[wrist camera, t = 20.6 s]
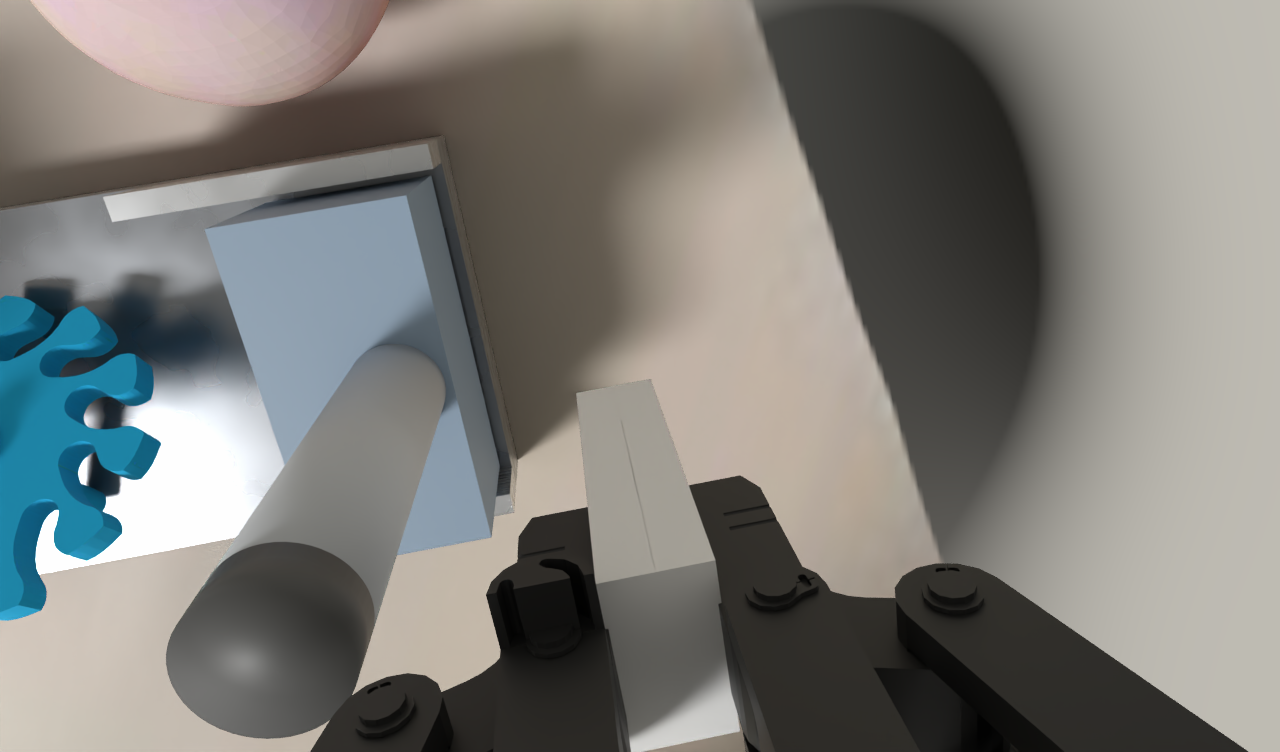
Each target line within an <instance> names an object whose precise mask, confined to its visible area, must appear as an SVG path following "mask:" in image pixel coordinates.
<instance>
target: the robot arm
mask: <svg viewBox="0 0 1280 752" xmlns="http://www.w3.org/2000/svg"><path fill="white" fill-rule="evenodd" d="M576 396H577V406H578V416H579V426H580V436H581V446H582V456H583V465H584V475H585V485H586V495H587V505H588V507H586V508H581V509H576V510H571V511H566V512H560V513H555V514H550V515H545V516H540V517H534V518H532V519H531V520H530V522H529V523H528V524H527V526H526V527H525V529H524V530H523V531H522V533H521V534H520V536H519V541H518V559H517V563H515V564H513V565H512V566H510V567H508V568H506V569H505V570H503V571H502V572H501V573H500V574H499V575H498V576H497V577H496V578H495V579H494V580H493V581H492V582H491V584H490V586H489V589H488V591H487V594H486V596H487V600H488V604H489V608H490V611H491V615H492V619H493V623H494V627H495V630H496V634H497V638H498V642H499V645H500V649H501V652H500V658H499V660H498V661H497V662H496V663H495V664H493V665H492V666H491V667H489V668H488V669H487V670H485V671H484V672H483V673H481V674H479V675H478V676H476V677H474V678H472V679H470V680H468V681H466V682H464V683H462V684H459V685H457V686H455V687H452V688H450V689H448V690H446V691H443V692H441V690H440V688H439V685H438V683H436V682H435V681H433V680H432V679H430V678H428V677H427V676H425V675H417V674H409V673H407V674H401V675H396V676H390V677H386V678H383V679H381V680H379V681H376V682H374V683H372V684H369V685H367V686H365V687H364V688H362V689H361V690H359V691H358V692H357V693H355V694H354V695H352V696H351V697H349V698H348V699H347V700H346V701H345V702H344V703H343V704H342V706H341V707H340V708H339V709H338V710H337V711H336V713H335V714H334V715H333V716H332V718H331V720H330V721H329V723H328V724H327V726H326V728H325V729H324V731H323V732H322V734H321V736H320V737H319V739H318V740H317V742H316V744H315V745H314V747H313V748H312V750H311V752H644V751H648V750H653V749H658V748H663V747H668V746H672V745H677V744H682V743H687V742H692V741H696V740H701V739H706V738H711V737H715V736H720V735H725V734H730V733H735V732H739V731H740V727H739V720H740V723H741V726H742V730H743V735H744V742H745V749H746V752H1248V751H1247V750H1245V749H1244V748H1242V747H1241V746H1239V745H1238V744H1237V743H1235V742H1234V741H1232V740H1231V739H1229V738H1228V737H1226V736H1225V735H1224V734H1222V733H1221V732H1219V731H1218V730H1216V729H1215V728H1213V727H1212V726H1210V725H1209V724H1208V723H1206V722H1205V721H1203V720H1202V719H1200V718H1199V717H1198V716H1196V715H1195V714H1193V713H1192V712H1190V711H1189V710H1187V709H1186V708H1185V707H1183V706H1182V705H1180V704H1179V703H1177V702H1176V701H1175V700H1173V699H1171V698H1170V697H1169V696H1167V695H1166V694H1164V693H1163V692H1162V691H1160V690H1159V689H1157V688H1156V687H1154V686H1153V685H1151V684H1150V683H1149V682H1147V681H1146V680H1144V679H1143V678H1141V677H1140V676H1138V675H1137V674H1136V673H1134V672H1133V671H1131V670H1130V669H1128V668H1127V667H1125V666H1124V665H1123V664H1121V663H1120V662H1118V661H1117V660H1115V659H1114V658H1112V657H1111V656H1110V655H1108V654H1107V653H1105V652H1104V651H1102V650H1101V649H1099V648H1098V647H1097V646H1095V645H1094V644H1092V643H1091V642H1089V641H1088V640H1086V639H1085V638H1084V637H1082V636H1081V635H1079V634H1078V633H1076V632H1075V631H1073V630H1072V629H1070V628H1069V627H1068V626H1066V625H1065V624H1063V623H1062V622H1060V621H1059V620H1058V619H1056V618H1055V617H1053V616H1052V615H1050V614H1049V613H1047V612H1046V611H1044V610H1043V609H1042V608H1040V607H1039V606H1037V605H1036V604H1034V603H1033V602H1032V601H1030V600H1029V599H1027V598H1026V597H1024V596H1023V595H1021V594H1020V593H1019V592H1017V591H1016V590H1014V589H1013V588H1011V587H1010V586H1008V585H1007V584H1005V583H1004V582H1003V581H1001V580H1000V579H998V578H997V577H995V576H993V575H991V574H989V573H987V572H984V571H983V570H981V569H978V568H974V567H970V566H965V565H961V564H932V565H928V566H923V567H919V568H916V569H914V570H912V571H911V572H909V573H907V574H906V575H904V576H902V578H901V579H900V581H899V582H898V584H897V586H896V587H895V597H896V598H864V597H853V596H846V595H842V594H838V593H834V592H832V591H830V589H829V587H828V585H827V584H826V583H825V581H824V580H823V579H822V578H821V577H820V576H819V575H818V574H817V573H815V572H813V571H811V570H808V569H806V568H804V567H802V565H801V563H800V562H799V560H798V558H797V556H796V554H795V552H794V550H793V548H792V547H791V545H790V543H789V541H788V539H787V537H786V535H785V533H784V532H783V530H782V528H781V526H780V524H779V522H778V521H777V520H776V517H775V515H774V513H773V511H772V509H771V507H769V503H768V502H767V500H766V498H765V496H764V494H763V492H762V490H761V488H760V487H758V486H757V485H755V484H753V483H752V482H750V481H748V480H747V479H745V478H744V477H742V476H735V477H730V478H725V479H720V480H714V481H709V482H704V483H699V484H694V485H688V482H687V479H686V477H685V474H684V471H683V468H682V465H681V463H680V460H679V457H678V454H677V451H676V449H675V446H674V443H673V440H672V437H671V435H670V432H669V429H668V426H667V424H666V421H665V418H664V415H663V412H662V410H661V407H660V404H659V401H658V398H657V396H656V393H655V390H654V387H653V384H652V382H651V379H648V380H643V381H637V382H632V383H627V384H621V385H616V386H610V387H605V388H600V389H594V390H589V391H584V392H578V393H576ZM738 716H739V720H738Z"/></svg>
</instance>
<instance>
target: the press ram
mask: <svg viewBox="0 0 1280 752" xmlns="http://www.w3.org/2000/svg"><path fill="white" fill-rule="evenodd" d="M205 232H206V235H207V238H208V241H209V244H210V247H211V250H212V253H213V256H214V259H215V262H216V265H217V268H218V270H219V273H220V276H221V279H222V282H223V285H224V288H225V291H226V294H227V297H228V300H229V303H230V306H231V309H232V312H233V315H234V318H235V320H236V323H237V326H238V329H239V332H240V335H241V338H242V341H243V344H244V347H245V350H246V353H247V356H248V359H249V362H250V365H251V367H252V370H253V373H254V376H255V379H256V382H257V385H258V388H259V391H260V394H261V397H262V400H263V403H264V406H265V409H266V412H267V414H268V417H269V420H270V423H271V426H272V429H273V432H274V435H275V438H276V441H277V444H278V447H279V450H280V453H281V456H282V459H283V462H284V464H285V466H284V468H283V469H282V471H281V472H280V474H279V475H278V476H277V478H276V479H275V481H274V482H273V484H272V485H271V487H270V488H269V490H268V491H267V493H266V494H265V496H264V497H263V499H262V500H261V502H260V503H259V504H258V506H257V507H256V509H255V510H254V512H253V513H252V515H251V516H250V518H249V519H248V521H247V522H246V524H245V525H244V527H243V528H242V529H241V531H240V532H239V534H238V535H237V537H236V538H235V540H234V541H233V543H232V544H231V546H230V547H229V549H228V550H227V552H226V553H225V554H224V556H223V557H222V559H221V560H220V562H219V563H218V565H217V566H216V568H215V569H214V571H213V572H212V574H211V575H210V577H209V578H208V579H207V581H206V582H205V584H204V585H203V587H202V588H201V590H200V591H199V593H198V594H197V596H196V597H195V599H194V600H193V602H192V603H191V605H190V606H189V607H188V609H187V610H186V612H185V613H184V615H183V616H182V618H181V619H180V621H179V622H178V624H177V625H176V627H175V629H174V630H173V632H172V634H171V637H170V640H169V643H168V647H167V653H166V665H167V671H168V675H169V678H170V681H171V684H172V686H173V688H174V689H175V691H176V693H177V695H178V696H179V697H180V699H181V700H182V701H183V703H184V704H185V705H186V706H187V707H188V708H189V709H190V710H191V711H192V712H194V713H195V714H196V715H197V716H199V717H200V718H201V719H203V720H205V721H206V722H208V723H209V724H211V725H213V726H215V727H217V728H219V729H222V730H225V731H227V732H230V733H233V734H237V735H241V736H246V737H253V738H266V739H269V738H283V737H290V736H295V735H298V734H302V733H305V732H308V731H310V730H313V729H315V728H317V727H319V726H321V725H323V724H324V723H326V722H327V721H329V720H330V719H331V718H332V716H333V715H334V714H335V713H336V711H337V710H338V709H339V708H340V707H341V706H342V704H343V703H344V702H345V701H346V700H347V699H348V698H349V697H351V696H352V694H353V691H354V689H355V687H356V683H357V680H358V677H359V674H360V671H361V668H362V664H363V661H364V658H365V655H366V652H367V648H368V645H369V642H370V639H371V636H372V632H373V629H374V626H375V623H376V620H377V616H378V613H379V610H380V607H381V604H382V600H383V597H384V594H385V591H386V588H387V585H388V581H389V578H390V575H391V572H392V569H393V565H394V562H395V559H396V556H397V555H401V554H406V553H412V552H417V551H422V550H427V549H433V548H438V547H443V546H448V545H454V544H459V543H464V542H469V541H475V540H480V539H485V538H490V537H491V536H492V528H493V519H494V511H495V502H496V494H497V485H498V476H499V468H500V464H499V460H498V456H497V452H496V448H495V443H494V439H493V435H492V431H491V426H490V422H489V418H488V414H487V410H486V405H485V401H484V397H483V393H482V388H481V384H480V380H479V376H478V371H477V367H476V363H475V359H474V355H473V350H472V346H471V342H470V338H469V333H468V329H467V325H466V321H465V317H464V312H463V308H462V304H461V300H460V295H459V291H458V287H457V283H456V278H455V274H454V270H453V266H452V262H451V257H450V253H449V249H448V245H447V240H446V236H445V232H444V228H443V224H442V219H441V215H440V211H439V207H438V202H437V198H436V194H435V190H434V185H433V181H432V177H431V175H430V176H424V177H418V178H412V179H406V180H400V181H394V182H388V183H382V184H376V185H370V186H364V187H358V188H352V189H346V190H340V191H334V192H328V193H322V194H316V195H310V196H304V197H298V198H291V199H285V200H279V201H273V202H267V203H264V204H262V205H260V206H257V207H255V208H253V209H250V210H248V211H246V212H243V213H241V214H239V215H236V216H234V217H232V218H229V219H227V220H225V221H222V222H220V223H218V224H215V225H213V226H211V227H208V228H206V229H205Z"/></svg>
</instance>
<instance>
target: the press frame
mask: <svg viewBox="0 0 1280 752" xmlns="http://www.w3.org/2000/svg"><path fill="white" fill-rule="evenodd" d="M430 175H431V177H432V181H433V185H434V190H435V194H436V198H437V202H438V207H439V211H440V215H441V219H442V224H443V228H444V232H445V236H446V240H447V245H448V249H449V253H450V257H451V262H452V266H453V270H454V274H455V278H456V283H457V287H458V291H459V295H460V300H461V304H462V308H463V312H464V317H465V321H466V325H467V329H468V333H469V338H470V342H471V346H472V350H473V355H474V359H475V363H476V367H477V371H478V376H479V380H480V384H481V388H482V393H483V397H484V401H485V405H486V410H487V414H488V418H489V422H490V426H491V431H492V435H493V439H494V443H495V448H496V452H497V456H498V460H499V464H500V468H499V476H498V485H497V494H496V502H495V511H494V516H499V515H504V514H509V513H514V506H515V492H516V478H517V464H518V460H517V455H516V451H515V447H514V442H513V438H512V433H511V429H510V425H509V420H508V416H507V411H506V407H505V403H504V398H503V394H502V389H501V385H500V381H499V376H498V372H497V367H496V363H495V359H494V354H493V350H492V345H491V341H490V337H489V332H488V328H487V323H486V319H485V315H484V310H483V306H482V301H481V297H480V293H479V288H478V284H477V279H476V275H475V271H474V266H473V262H472V257H471V253H470V249H469V244H468V240H467V235H466V231H465V227H464V222H463V218H462V213H461V209H460V205H459V200H458V196H457V191H456V187H455V183H454V178H453V174H452V169H451V165H450V161H449V156H448V152H447V147H446V143H445V139H444V135H442V136H436V137H430V138H424V139H418V140H412V141H406V142H400V143H393V144H387V145H381V146H375V147H369V148H363V149H357V150H351V151H345V152H339V153H333V154H326V155H320V156H314V157H308V158H302V159H296V160H290V161H284V162H278V163H272V164H265V165H259V166H253V167H247V168H241V169H235V170H229V171H223V172H217V173H211V174H205V175H198V176H192V177H186V178H180V179H174V180H168V181H162V182H156V183H150V184H144V185H138V186H131V187H125V188H119V189H113V190H107V191H101V192H95V193H89V194H83V195H77V196H71V197H64V198H58V199H52V200H46V201H40V202H34V203H28V204H22V205H16V206H10V207H3V208H0V299H1V298H2V297H4V296H5V295H6V296H17V297H22V298H25V299H28V300H31V301H32V302H34V303H35V304H36V305H38V306H39V307H41V308H42V309H44V310H45V311H47V312H48V313H50V314H51V315H53V316H54V317H55V318H54V322H53V325H52V327H51V328H50V330H49V331H48V332H47V333H46V334H45V335H43V336H42V337H40V338H39V339H37V340H35V341H33V342H30V343H28V344H26V345H25V346H23V347H21V348H20V349H19V350H18V351H17V352H16V354H15V356H14V358H16V357H18V356H20V355H22V354H24V353H26V352H28V351H30V350H32V349H33V348H35V347H36V346H38V345H39V344H41V343H42V342H43V341H45V340H46V339H47V338H48V337H49V336H50V335H51V334H52V333H53V332H54V331H55V329H56V328H57V327H58V326H59V324H60V323H61V321H62V320H63V318H64V317H65V316H66V315H67V314H68V313H69V312H71V311H72V310H74V309H76V308H78V307H81V306H85V307H86V308H87V309H89V310H90V311H91V312H93V313H94V314H95V315H97V316H98V317H100V318H101V319H102V320H103V321H105V322H106V323H107V324H108V325H109V326H110V327H111V328H112V329H113V330H114V332H115V334H116V336H117V339H118V343H117V344H116V346H115V347H114V348H113V349H112V350H110V351H109V352H108V353H106V354H104V355H101V356H98V357H83V358H76V359H73V360H72V361H70V362H68V363H67V364H66V365H65V366H64V367H63V369H62V370H61V373H60V377H70V376H77V375H81V374H84V373H87V372H90V371H92V370H94V369H96V368H98V367H100V366H102V365H104V364H105V363H106V362H108V361H109V360H110V359H112V358H114V357H116V356H118V355H121V354H127V353H130V354H135V355H136V356H138V357H139V358H140V359H142V360H143V361H145V362H146V363H147V364H149V365H150V366H152V371H153V377H154V389H153V394H152V398H151V400H149V401H148V402H146V403H144V404H142V405H138V406H127V405H125V404H123V403H121V402H119V401H118V400H116V399H115V398H112V397H101V398H98V399H96V400H94V401H93V402H92V403H91V404H90V405H89V406H88V407H87V409H86V411H85V414H84V422H85V424H86V425H87V426H88V427H90V428H94V429H115V428H119V427H123V426H134V427H137V428H139V429H140V430H142V431H144V432H146V433H147V434H149V435H151V436H152V437H154V438H156V439H158V440H159V441H160V442H161V446H160V449H159V451H158V454H157V456H156V458H155V460H154V462H153V465H152V466H151V468H150V469H149V471H148V472H147V473H146V475H145V476H144V477H143V478H142V479H140V480H129V479H126V478H124V477H122V476H120V475H118V474H115V473H113V472H111V471H109V470H107V469H106V468H104V467H103V466H102V465H101V464H100V461H99V459H98V456H97V453H96V452H94V453H92V454H90V455H89V456H88V457H86V458H85V459H84V460H83V462H82V463H81V465H80V468H79V472H78V475H79V479H80V483H82V484H84V485H86V486H89V487H91V488H93V489H96V490H98V491H100V492H102V493H103V494H104V495H105V497H106V501H107V502H106V506H105V509H104V510H103V511H104V512H106V513H108V514H111V515H113V516H115V517H117V518H118V519H119V521H120V522H121V524H122V527H123V534H122V535H121V536H120V537H119V538H118V539H117V540H116V541H115V542H114V543H113V544H112V545H111V546H109V547H108V548H107V549H106V550H105V551H104V552H102V553H101V554H99V555H98V556H96V557H95V558H93V559H91V560H89V561H84V560H81V559H78V558H74V557H71V556H68V555H65V554H62V553H61V552H59V551H58V550H57V549H56V547H55V545H54V542H53V534H54V529H55V526H56V522H57V519H58V514H59V511H58V510H55V511H53V512H52V513H51V514H50V515H49V516H48V517H47V518H46V520H45V521H44V523H43V526H42V529H41V533H40V536H39V539H38V544H37V549H36V564H37V570H38V573H39V574H43V573H48V572H53V571H59V570H64V569H69V568H75V567H80V566H86V565H91V564H96V563H102V562H107V561H112V560H118V559H123V558H128V557H134V556H139V555H144V554H150V553H155V552H160V551H166V550H171V549H176V548H182V547H187V546H192V545H198V544H203V543H208V542H214V541H219V540H225V539H230V538H235V537H237V535H238V534H239V532H240V531H241V529H242V528H243V527H244V525H245V524H246V522H247V521H248V519H249V518H250V516H251V515H252V513H253V512H254V510H255V509H256V507H257V506H258V504H259V503H260V502H261V500H262V499H263V497H264V496H265V494H266V493H267V491H268V490H269V488H270V487H271V485H272V484H273V482H274V481H275V479H276V478H277V476H278V475H279V474H280V472H281V471H282V469H283V468H284V466H285V464H284V462H283V459H282V456H281V453H280V450H279V447H278V444H277V441H276V438H275V435H274V432H273V429H272V426H271V423H270V420H269V417H268V414H267V412H266V409H265V406H264V403H263V400H262V397H261V394H260V391H259V388H258V385H257V382H256V379H255V376H254V373H253V370H252V367H251V365H250V362H249V359H248V356H247V353H246V350H245V347H244V344H243V341H242V338H241V335H240V332H239V329H238V326H237V323H236V320H235V318H234V315H233V312H232V309H231V306H230V303H229V300H228V297H227V294H226V291H225V288H224V285H223V282H222V279H221V276H220V273H219V270H218V268H217V265H216V262H215V259H214V256H213V253H212V250H211V247H210V244H209V241H208V238H207V235H206V232H205V229H206V228H208V227H211V226H213V225H215V224H218V223H220V222H222V221H225V220H227V219H229V218H232V217H234V216H236V215H239V214H241V213H243V212H246V211H248V210H250V209H253V208H255V207H257V206H260V205H262V204H264V203H267V202H273V201H279V200H285V199H291V198H298V197H304V196H310V195H316V194H322V193H328V192H334V191H340V190H346V189H352V188H358V187H364V186H370V185H376V184H382V183H388V182H394V181H400V180H406V179H412V178H418V177H424V176H430ZM14 358H13V359H14Z"/></svg>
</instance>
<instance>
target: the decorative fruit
mask: <svg viewBox="0 0 1280 752" xmlns="http://www.w3.org/2000/svg"><path fill="white" fill-rule="evenodd" d="M30 1H31V2H32V4H33V5H34V6H35V7H36V8H37V10H38V11H39V12H40V13H41V14H42V15H43V16H44V17H45V19H46V20H47V21H48V22H49V23H50V24H51V25H52V26H53V27H54V28H55V29H56V30H57V31H58V32H59V33H60V34H61V35H63V36H64V37H65V38H66V39H67V40H68V41H69V42H71V43H72V44H73V45H74V46H76V47H77V48H78V49H79V50H81V51H82V52H83V53H85V54H86V55H87V56H89V57H91V58H92V59H94V60H95V61H97V62H98V63H100V64H101V65H103V66H105V67H106V68H108V69H109V70H111V71H113V72H114V73H116V74H118V75H120V76H122V77H124V78H126V79H128V80H130V81H132V82H134V83H137V84H139V85H142V86H144V87H147V88H149V89H152V90H155V91H158V92H161V93H164V94H167V95H171V96H175V97H179V98H183V99H188V100H194V101H200V102H205V103H211V104H220V105H230V106H257V105H265V104H271V103H276V102H280V101H284V100H288V99H292V98H295V97H298V96H300V95H303V94H306V93H308V92H310V91H312V90H314V89H317V88H319V87H321V86H322V85H324V84H325V83H327V82H328V81H330V80H332V79H333V78H334V77H336V76H337V75H338V74H339V73H341V72H342V71H343V70H344V69H345V68H346V67H347V66H348V65H349V64H350V63H351V62H352V61H353V60H354V59H355V58H356V57H357V56H358V55H359V53H360V52H361V51H362V50H363V48H364V47H365V46H366V44H367V43H368V41H369V40H370V38H371V37H372V35H373V33H374V32H375V30H376V28H377V26H378V25H379V23H380V21H381V19H382V17H383V15H384V12H385V10H386V8H387V5H388V3H389V0H30Z"/></svg>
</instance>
